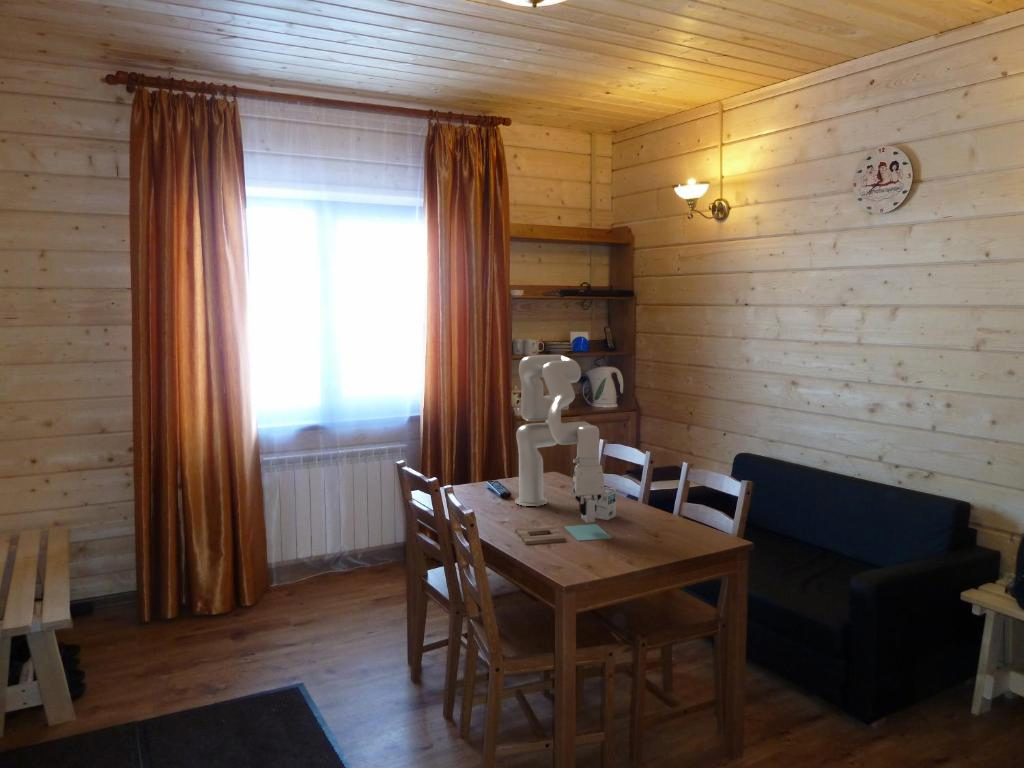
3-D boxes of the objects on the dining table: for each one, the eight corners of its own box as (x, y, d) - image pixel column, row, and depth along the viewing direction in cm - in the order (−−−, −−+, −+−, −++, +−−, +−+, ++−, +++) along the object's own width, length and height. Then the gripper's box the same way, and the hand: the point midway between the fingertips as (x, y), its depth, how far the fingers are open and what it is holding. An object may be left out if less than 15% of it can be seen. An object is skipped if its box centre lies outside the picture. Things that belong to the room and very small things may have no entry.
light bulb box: (616, 516, 284) (616, 488, 282) (608, 520, 278) (608, 491, 277) (591, 512, 290) (591, 484, 288) (582, 516, 284) (582, 487, 283)
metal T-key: (588, 523, 258) (588, 500, 258) (579, 516, 267) (579, 494, 266) (596, 523, 259) (596, 500, 258) (587, 515, 268) (587, 493, 267)
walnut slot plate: (515, 532, 265) (515, 528, 265) (553, 528, 268) (553, 525, 268) (525, 544, 252) (525, 541, 251) (565, 541, 255) (565, 537, 255)
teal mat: (563, 527, 270) (563, 526, 270) (596, 524, 273) (596, 524, 273) (578, 541, 255) (578, 540, 255) (612, 538, 257) (612, 537, 257)
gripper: (568, 465, 255) (568, 518, 257) (614, 462, 259) (614, 515, 261) (561, 460, 263) (561, 512, 265) (606, 458, 266) (606, 509, 268)
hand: (587, 513), depth 263 cm, fingers closed on metal T-key, 3 cm apart
